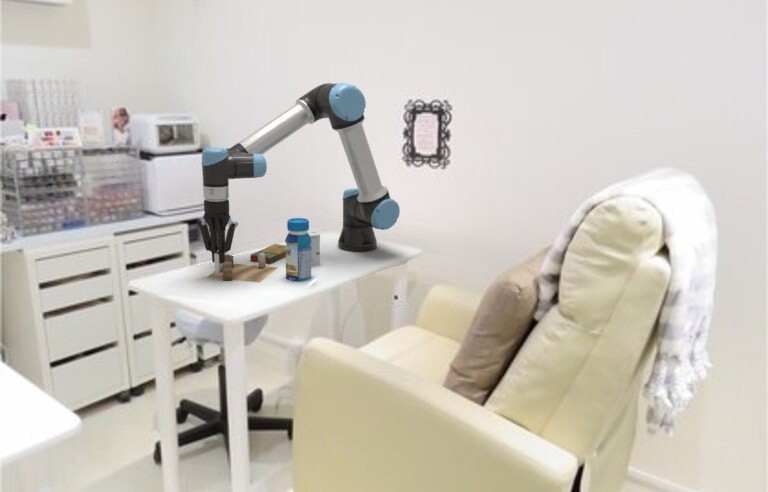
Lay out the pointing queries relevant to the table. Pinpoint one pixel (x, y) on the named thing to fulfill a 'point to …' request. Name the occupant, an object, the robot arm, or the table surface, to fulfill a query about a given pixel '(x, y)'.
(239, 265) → the frame board
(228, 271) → the leg bar
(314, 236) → the skincare box
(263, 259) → the stop peg
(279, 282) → the table surface
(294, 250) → the beverage bottle
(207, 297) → the table surface
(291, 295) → the table surface
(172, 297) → the table surface
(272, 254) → the carton
